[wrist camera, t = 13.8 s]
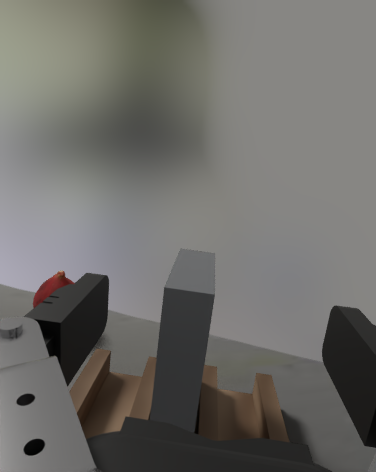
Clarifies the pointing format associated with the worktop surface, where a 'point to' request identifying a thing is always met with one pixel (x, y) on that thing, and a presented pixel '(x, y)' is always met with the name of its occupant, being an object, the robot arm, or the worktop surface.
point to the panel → (183, 339)
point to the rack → (209, 408)
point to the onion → (50, 287)
